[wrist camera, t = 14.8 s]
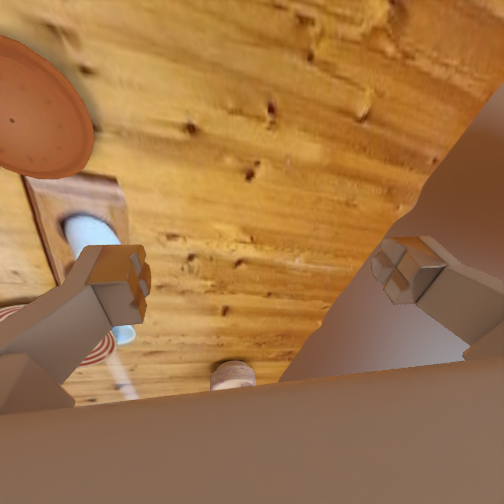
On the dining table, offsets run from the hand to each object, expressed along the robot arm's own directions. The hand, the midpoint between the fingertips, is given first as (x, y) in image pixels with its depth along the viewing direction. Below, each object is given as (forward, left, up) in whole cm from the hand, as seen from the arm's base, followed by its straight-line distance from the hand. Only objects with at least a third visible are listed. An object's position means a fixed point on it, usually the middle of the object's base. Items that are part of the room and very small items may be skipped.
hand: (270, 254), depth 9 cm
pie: (+3, -24, -33) cm, 41 cm away
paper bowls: (+82, +2, -33) cm, 89 cm away
